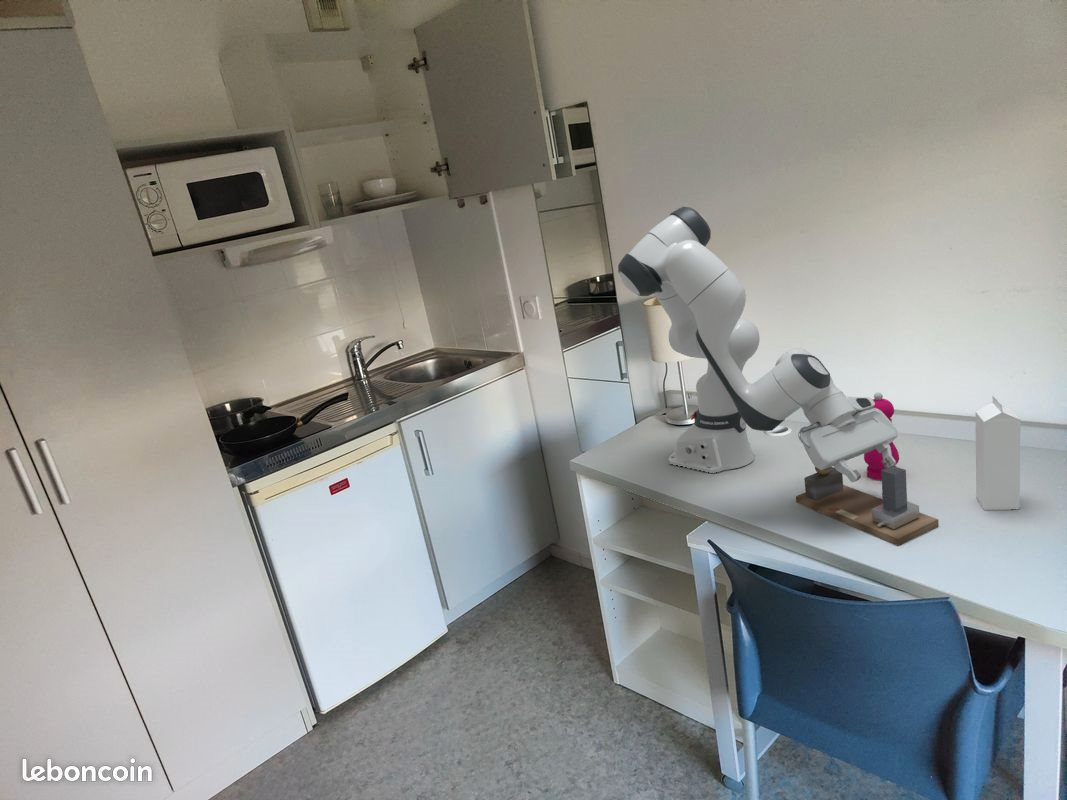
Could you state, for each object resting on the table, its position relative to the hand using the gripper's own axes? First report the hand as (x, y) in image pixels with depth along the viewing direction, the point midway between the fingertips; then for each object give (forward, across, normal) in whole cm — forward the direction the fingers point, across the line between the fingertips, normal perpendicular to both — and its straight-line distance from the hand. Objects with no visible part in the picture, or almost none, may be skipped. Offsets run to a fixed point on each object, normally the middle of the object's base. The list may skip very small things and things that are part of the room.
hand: (874, 472), depth 136 cm
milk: (+15, +22, +1) cm, 26 cm away
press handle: (+9, 0, +4) cm, 10 cm away
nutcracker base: (+5, +1, +11) cm, 12 cm away
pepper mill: (-2, +18, +18) cm, 25 cm away
